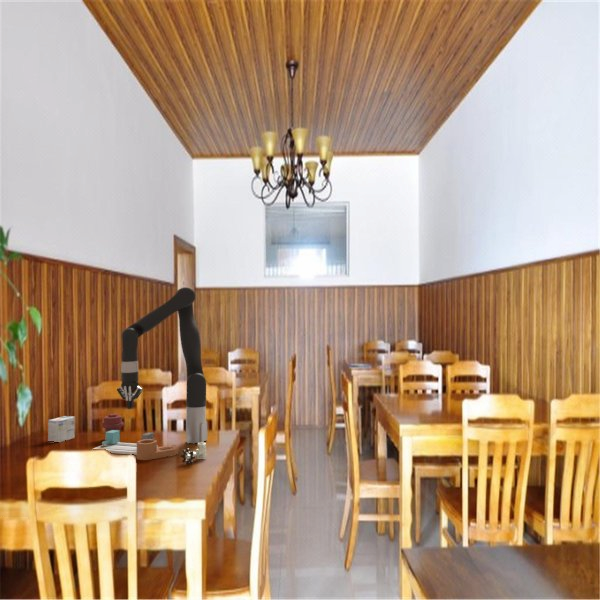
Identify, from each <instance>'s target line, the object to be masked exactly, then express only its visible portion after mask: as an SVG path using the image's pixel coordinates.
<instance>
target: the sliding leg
mask: <svg viewBox="0 0 600 600" xmlns="http://www.w3.org/2000/svg"><path fill="white" fill-rule="evenodd" d="M120 436H121V430H120V431H119V430H111V431H108V432H106V435H105V434H104V438H105V439H104V441H102V442H101V444H102V445H103V447H105V444H115V443H118V442H119V443H121V441H120Z"/></svg>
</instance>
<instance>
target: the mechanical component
mask: <svg viewBox="0 0 600 600" xmlns="http://www.w3.org/2000/svg"><path fill="white" fill-rule="evenodd" d="M124 423H125V422H124V421H123V415H120V414H118V413H110V414H109V413H108V415H106V416H104V417H103V422H102V423H101V428H103V429H104V436H105V435H106V432H108V431H111V430H119V431H120V432H121V427H123V426H124V425H125V424H124Z"/></svg>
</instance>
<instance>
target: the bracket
mask: <svg viewBox="0 0 600 600" xmlns="http://www.w3.org/2000/svg"><path fill="white" fill-rule="evenodd" d="M136 444H137V455H136V460H139V461H148V460H157V459H163V458H167V457H166V456H168V457H172V456H171V455H174V456H177V455H179V446H177V445H163V446H158V447H157V445H158V440H156V439H155V438H154V439H145V440H142V439H141V440H138V441H136ZM176 454H177V455H176Z"/></svg>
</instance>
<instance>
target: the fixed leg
mask: <svg viewBox="0 0 600 600" xmlns="http://www.w3.org/2000/svg"><path fill="white" fill-rule="evenodd" d="M154 436H155V433H154V432H149V431H148V432H146V433H143V434H142V435H141V440H145V439H154V440H155V437H154Z"/></svg>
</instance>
